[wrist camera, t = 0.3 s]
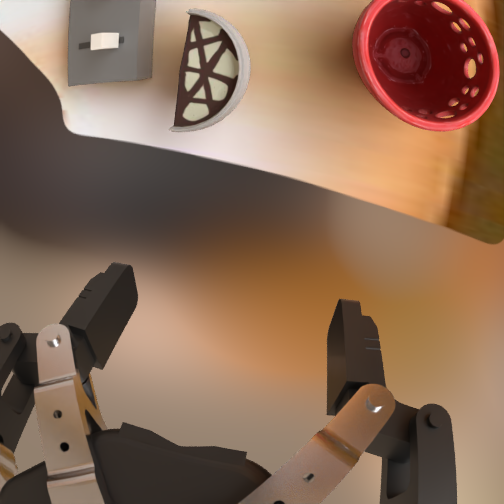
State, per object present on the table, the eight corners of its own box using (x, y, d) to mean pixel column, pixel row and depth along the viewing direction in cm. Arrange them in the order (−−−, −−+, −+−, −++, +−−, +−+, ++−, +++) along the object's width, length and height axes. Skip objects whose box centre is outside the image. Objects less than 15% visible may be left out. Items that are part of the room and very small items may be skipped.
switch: (108, 34, 27) (91, 34, 24) (119, 32, 27) (102, 32, 24) (108, 48, 28) (90, 50, 25) (118, 47, 28) (101, 48, 25)
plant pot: (391, -18, 23) (427, -44, 13) (467, 67, 27) (523, 78, 17) (316, 50, 30) (323, 45, 20) (397, 131, 33) (433, 164, 23)
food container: (250, 125, 36) (233, 147, 28) (199, 116, 36) (168, 135, 28) (270, 25, 29) (259, 12, 20) (216, 18, 29) (187, 5, 21)
